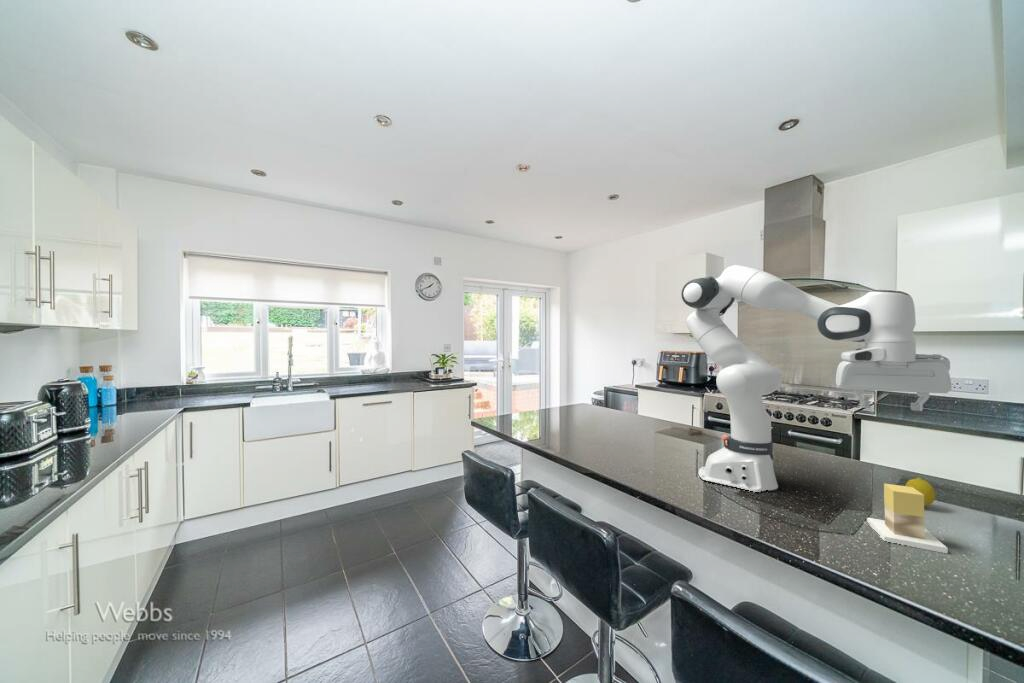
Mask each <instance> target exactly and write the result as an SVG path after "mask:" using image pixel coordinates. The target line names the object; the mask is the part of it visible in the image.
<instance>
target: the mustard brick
mask: <svg viewBox="0 0 1024 683" xmlns="http://www.w3.org/2000/svg"><path fill="white" fill-rule="evenodd" d="M883 501H884V502H883V504H884V506H885V505H886V506H887V507H888V508H889V509H890V510H891V511H893V512H894V513H900V514H906V515H913V516H919V517H925V506H924V495H923V494H922V493H920V492H919V491H917V490H916V489H915V488H913V487H907V486H906V485H898V484H892V483H891V484H890V483H883Z"/></svg>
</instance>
